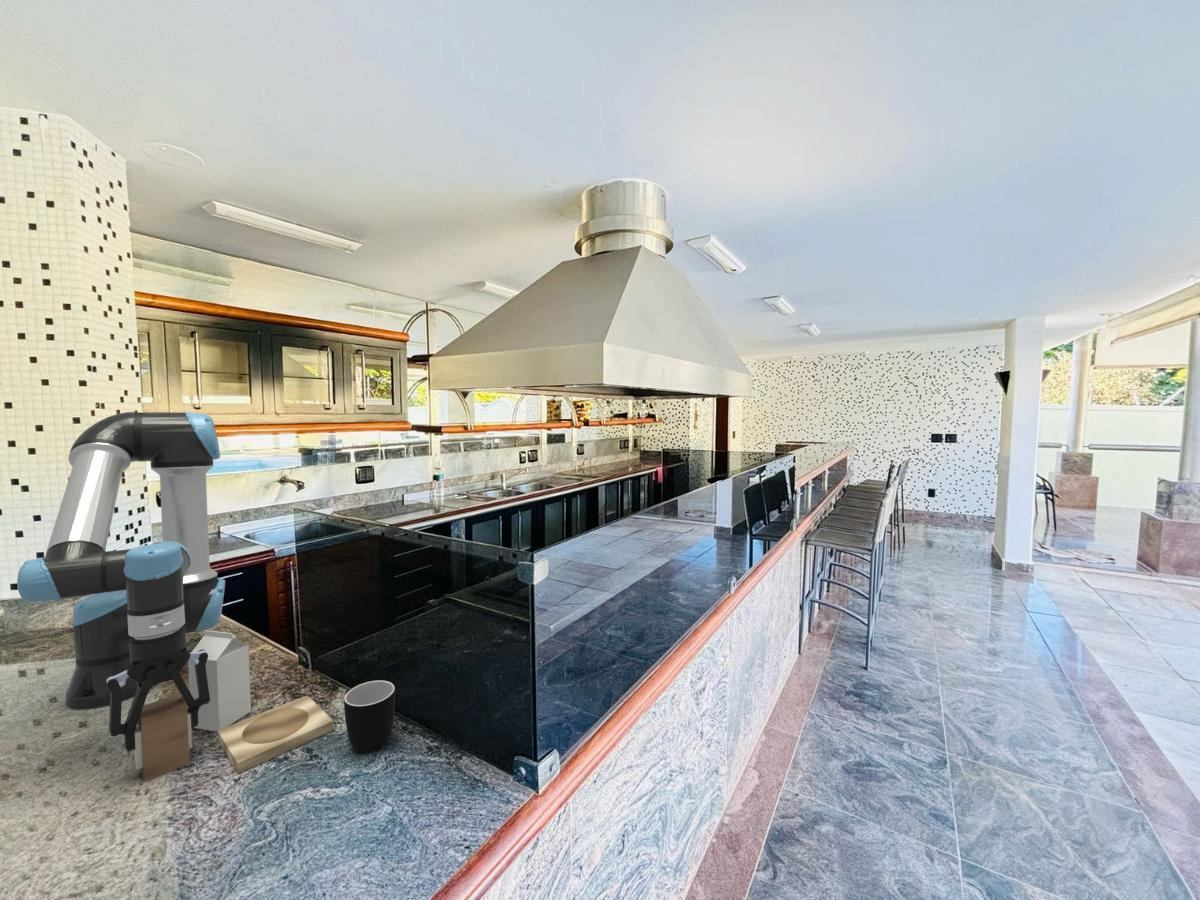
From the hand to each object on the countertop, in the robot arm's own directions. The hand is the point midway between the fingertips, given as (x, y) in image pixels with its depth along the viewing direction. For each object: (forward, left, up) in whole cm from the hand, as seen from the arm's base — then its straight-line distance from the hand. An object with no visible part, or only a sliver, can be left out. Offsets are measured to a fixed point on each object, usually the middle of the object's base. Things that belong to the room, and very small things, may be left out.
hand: (164, 754), depth 88 cm
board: (+6, +16, -2) cm, 17 cm away
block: (0, 0, -2) cm, 2 cm away
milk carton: (-8, +10, -2) cm, 13 cm away
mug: (+21, +27, -2) cm, 34 cm away
